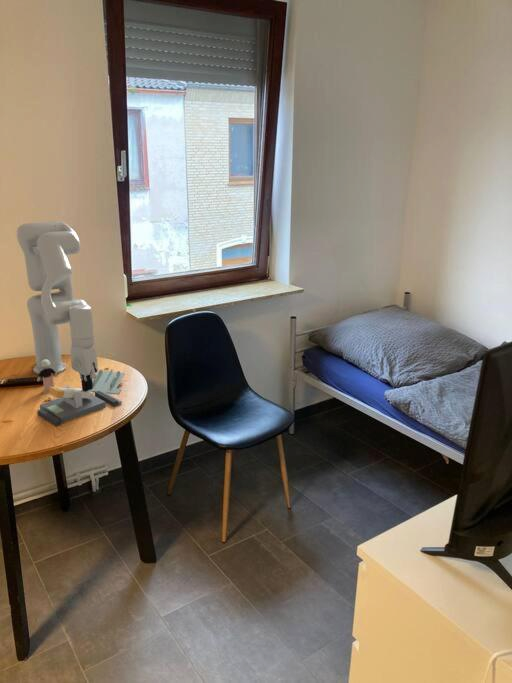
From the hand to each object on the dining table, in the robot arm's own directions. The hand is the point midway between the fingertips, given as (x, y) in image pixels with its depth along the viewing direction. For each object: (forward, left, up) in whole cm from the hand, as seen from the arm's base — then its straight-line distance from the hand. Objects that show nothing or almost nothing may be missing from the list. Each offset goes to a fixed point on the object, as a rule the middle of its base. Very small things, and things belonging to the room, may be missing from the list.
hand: (87, 389), depth 191 cm
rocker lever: (0, -6, 0) cm, 6 cm away
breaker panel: (0, -6, -5) cm, 8 cm away
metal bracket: (-8, +13, -6) cm, 17 cm away
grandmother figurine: (-19, -5, -6) cm, 21 cm away
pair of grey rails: (+2, -5, -5) cm, 7 cm away
